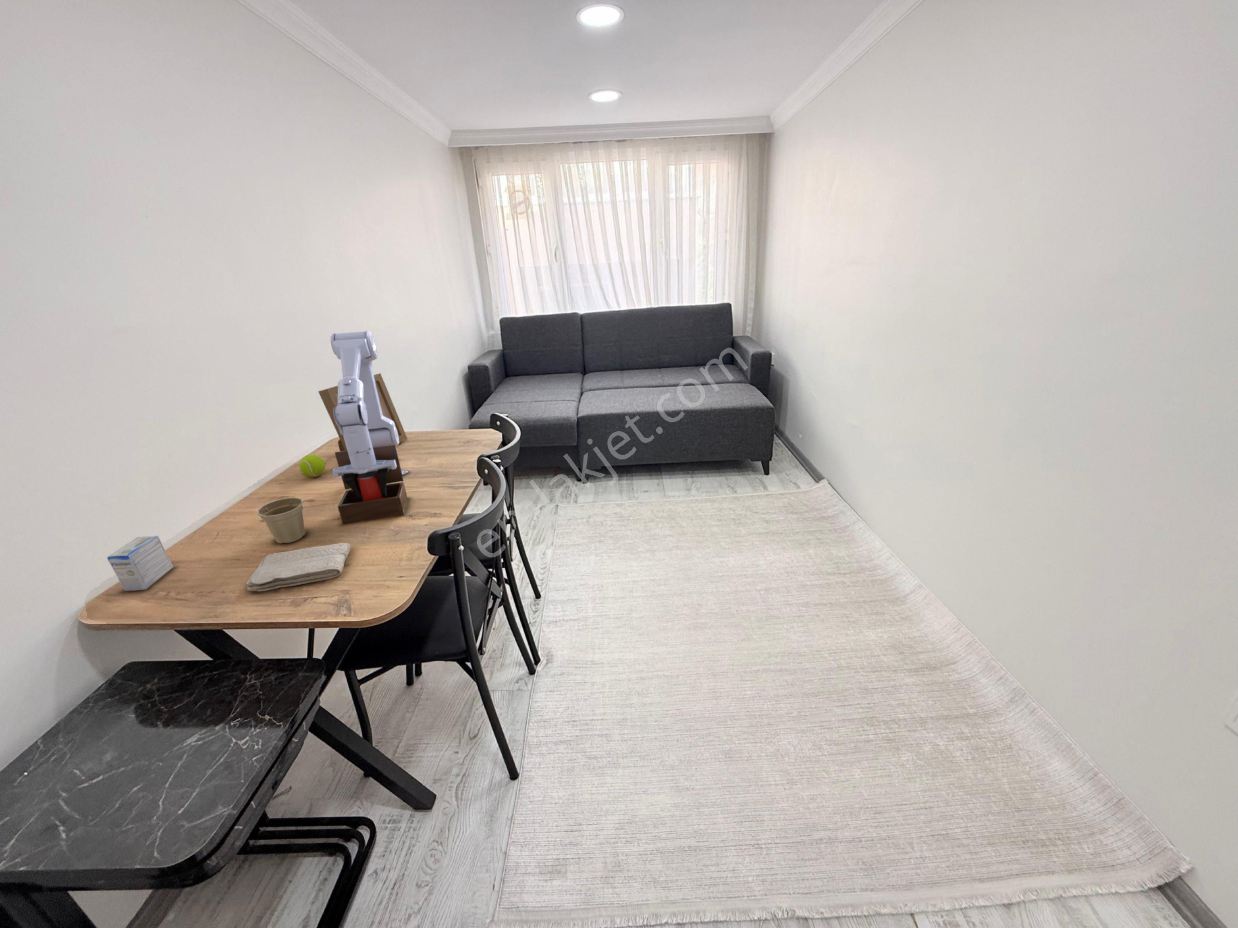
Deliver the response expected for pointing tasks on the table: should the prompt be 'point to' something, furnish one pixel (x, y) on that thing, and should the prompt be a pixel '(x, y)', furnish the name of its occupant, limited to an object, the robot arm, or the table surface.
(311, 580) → the washcloth
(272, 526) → the flower pot
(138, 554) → the medicine box
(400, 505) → the storage box
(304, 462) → the tennis ball
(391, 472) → the lid
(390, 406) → the photo frame
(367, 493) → the can
